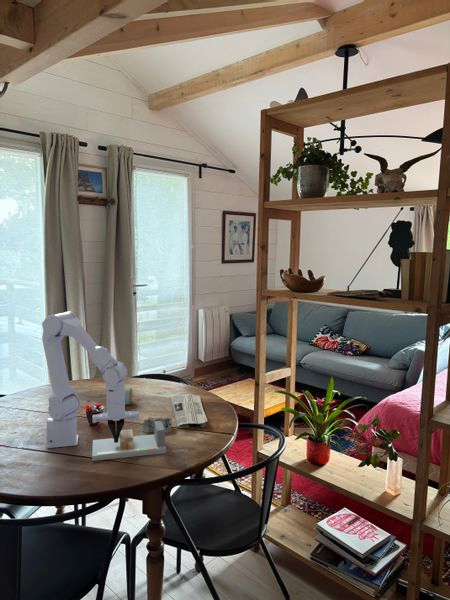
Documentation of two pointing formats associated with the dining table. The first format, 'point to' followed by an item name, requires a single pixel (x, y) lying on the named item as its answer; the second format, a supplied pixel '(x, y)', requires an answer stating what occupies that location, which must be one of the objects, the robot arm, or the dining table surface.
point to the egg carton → (149, 424)
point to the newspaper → (188, 410)
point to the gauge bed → (140, 445)
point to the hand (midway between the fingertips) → (116, 441)
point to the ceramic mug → (128, 395)
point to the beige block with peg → (126, 439)
